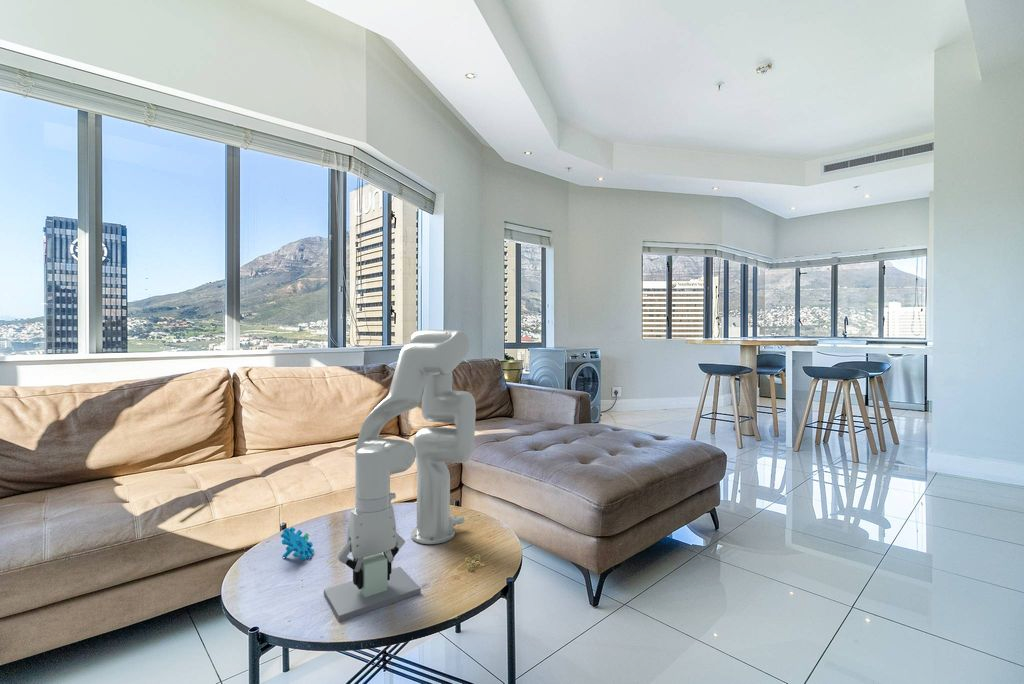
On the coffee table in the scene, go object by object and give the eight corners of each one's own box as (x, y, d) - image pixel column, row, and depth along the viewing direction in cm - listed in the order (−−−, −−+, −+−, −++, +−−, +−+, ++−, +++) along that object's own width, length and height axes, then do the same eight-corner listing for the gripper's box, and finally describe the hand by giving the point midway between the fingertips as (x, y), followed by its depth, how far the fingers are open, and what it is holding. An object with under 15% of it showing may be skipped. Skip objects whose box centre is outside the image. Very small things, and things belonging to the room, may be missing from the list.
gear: (303, 561, 116) (278, 531, 117) (286, 578, 115) (260, 548, 117) (323, 547, 127) (299, 520, 128) (307, 563, 126) (283, 535, 128)
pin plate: (399, 571, 114) (400, 554, 114) (420, 593, 105) (420, 574, 105) (323, 594, 104) (323, 576, 104) (338, 621, 94) (338, 601, 94)
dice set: (467, 574, 115) (467, 566, 115) (461, 565, 119) (461, 557, 119) (486, 570, 117) (486, 562, 117) (479, 561, 121) (479, 553, 121)
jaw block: (379, 580, 108) (379, 550, 108) (387, 590, 104) (387, 559, 104) (357, 587, 105) (358, 556, 105) (365, 597, 101) (365, 565, 101)
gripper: (402, 490, 112) (402, 564, 112) (328, 505, 102) (328, 586, 102) (415, 499, 106) (414, 577, 106) (338, 516, 96) (338, 602, 96)
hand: (372, 581), depth 104 cm, fingers open, 5 cm apart
